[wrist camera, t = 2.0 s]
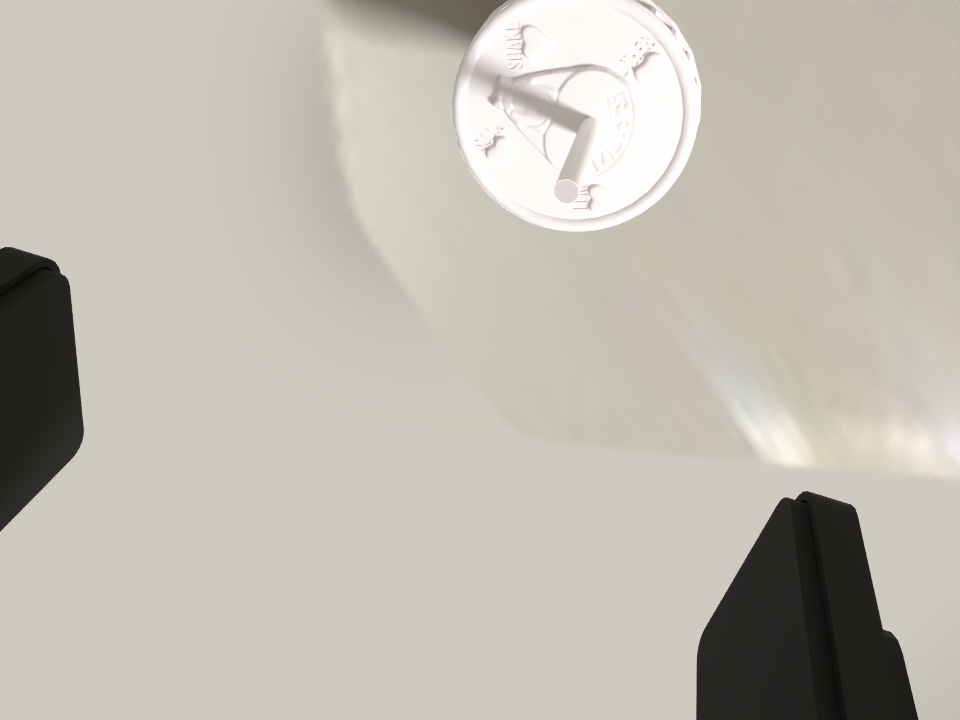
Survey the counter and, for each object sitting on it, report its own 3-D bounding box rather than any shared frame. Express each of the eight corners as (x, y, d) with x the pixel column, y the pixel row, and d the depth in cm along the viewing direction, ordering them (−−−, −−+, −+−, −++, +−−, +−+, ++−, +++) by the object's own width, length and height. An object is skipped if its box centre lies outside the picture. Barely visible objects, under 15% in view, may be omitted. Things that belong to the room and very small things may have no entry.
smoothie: (660, 148, 31) (628, 351, 19) (498, 89, 31) (371, 256, 20) (738, -32, 27) (753, 89, 16) (552, -98, 27) (435, -25, 16)
